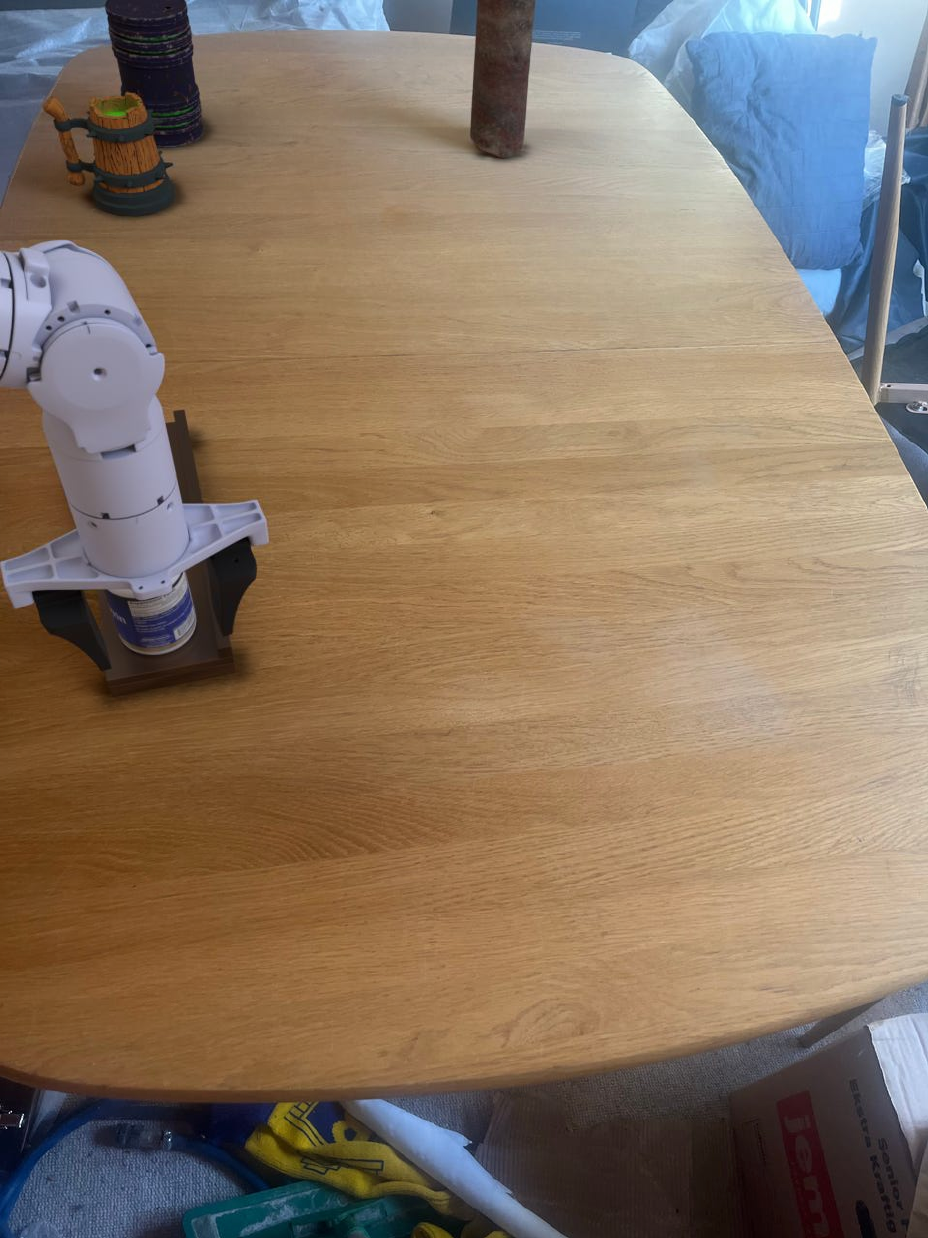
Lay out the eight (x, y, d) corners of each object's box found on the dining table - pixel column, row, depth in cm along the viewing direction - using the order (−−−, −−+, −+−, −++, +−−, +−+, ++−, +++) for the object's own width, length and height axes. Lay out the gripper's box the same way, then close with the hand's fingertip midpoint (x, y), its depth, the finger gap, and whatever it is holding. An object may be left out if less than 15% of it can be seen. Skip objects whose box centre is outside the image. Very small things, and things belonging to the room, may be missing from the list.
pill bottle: (112, 610, 73) (81, 516, 65) (187, 591, 74) (166, 497, 67) (127, 667, 70) (96, 575, 62) (205, 646, 71) (185, 553, 64)
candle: (459, 150, 130) (469, -20, 115) (479, 129, 134) (492, -37, 119) (511, 163, 128) (529, -7, 113) (530, 142, 133) (550, -24, 118)
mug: (176, 174, 120) (160, 75, 112) (180, 215, 114) (163, 114, 105) (67, 178, 118) (41, 78, 109) (64, 220, 112) (37, 117, 103)
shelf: (112, 697, 70) (102, 671, 68) (88, 450, 87) (79, 422, 84) (236, 672, 72) (231, 646, 70) (189, 436, 89) (184, 409, 87)
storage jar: (114, 139, 125) (88, 11, 114) (147, 109, 131) (125, -16, 120) (187, 152, 124) (168, 24, 113) (216, 121, 130) (200, -4, 119)
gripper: (-15, 569, 47) (57, 725, 57) (276, 498, 51) (293, 654, 61) (-32, 477, 50) (38, 638, 61) (239, 418, 55) (261, 577, 65)
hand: (164, 641), depth 61 cm, fingers open, 7 cm apart
